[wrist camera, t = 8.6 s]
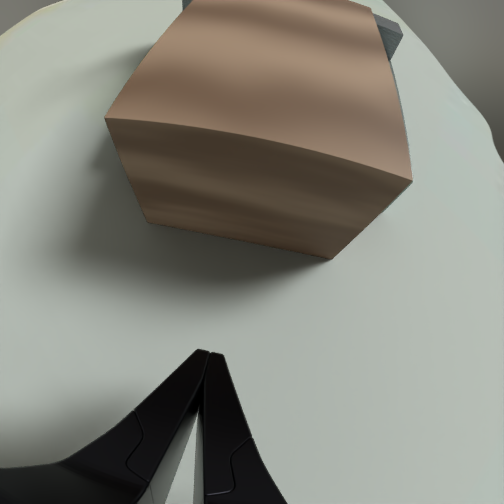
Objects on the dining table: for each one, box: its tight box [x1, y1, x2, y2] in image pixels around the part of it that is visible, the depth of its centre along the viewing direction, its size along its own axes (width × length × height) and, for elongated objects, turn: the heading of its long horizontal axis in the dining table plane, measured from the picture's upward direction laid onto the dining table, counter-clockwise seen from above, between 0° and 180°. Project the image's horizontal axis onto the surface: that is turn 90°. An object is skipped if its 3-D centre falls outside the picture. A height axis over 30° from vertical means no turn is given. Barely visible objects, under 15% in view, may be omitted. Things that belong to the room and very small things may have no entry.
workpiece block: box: [104, 0, 413, 259], centre depth 16 cm, size 16×11×9 cm
